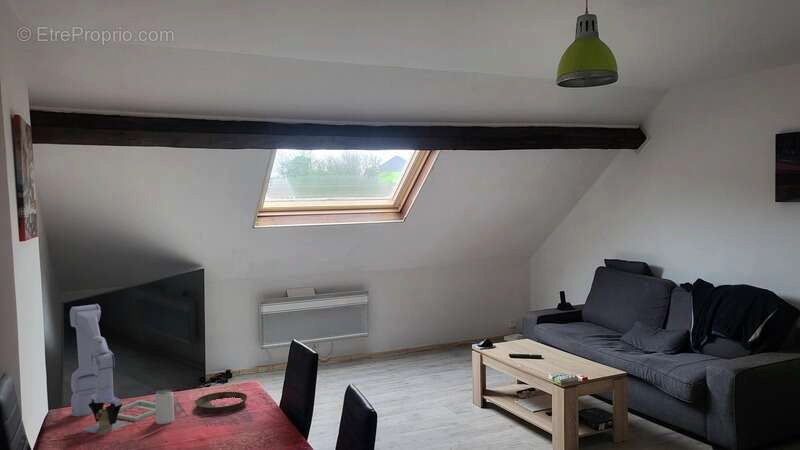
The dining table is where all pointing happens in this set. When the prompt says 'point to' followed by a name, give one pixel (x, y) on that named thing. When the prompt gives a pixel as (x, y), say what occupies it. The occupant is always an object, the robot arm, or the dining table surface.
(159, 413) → the can
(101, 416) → the sleeve
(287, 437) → the dining table surface
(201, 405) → the plant saucer
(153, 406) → the tray
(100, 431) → the square base plate
